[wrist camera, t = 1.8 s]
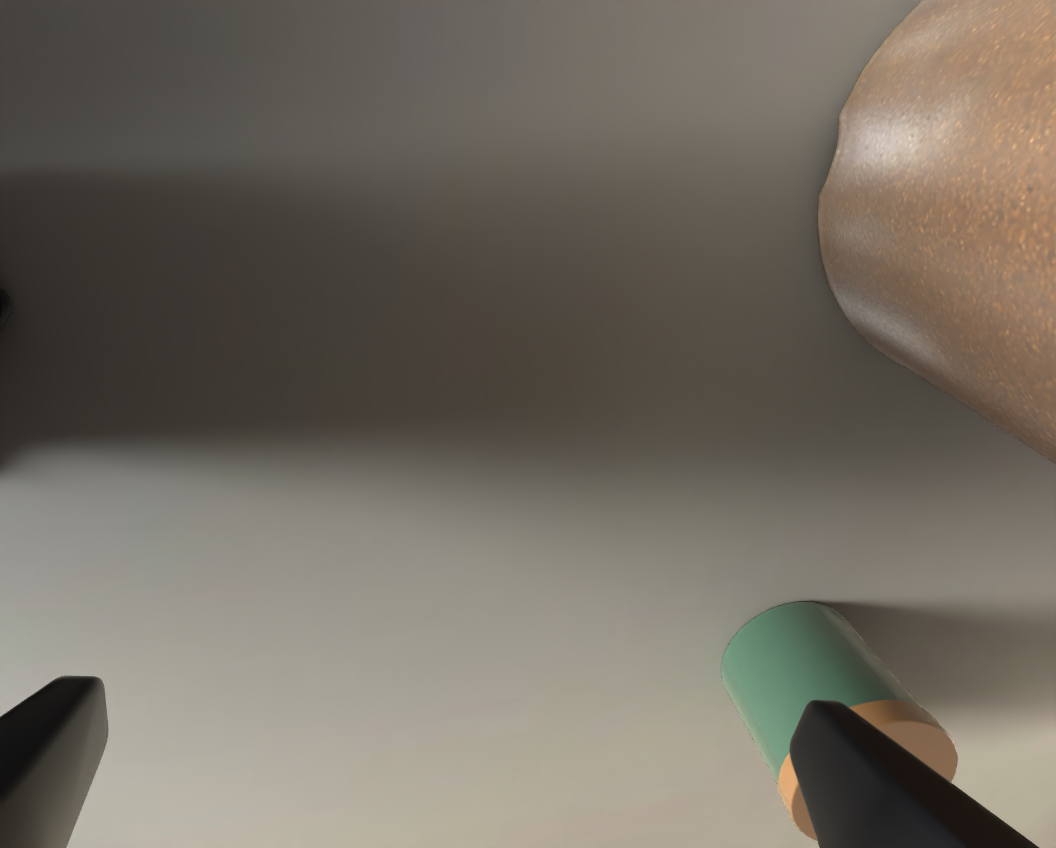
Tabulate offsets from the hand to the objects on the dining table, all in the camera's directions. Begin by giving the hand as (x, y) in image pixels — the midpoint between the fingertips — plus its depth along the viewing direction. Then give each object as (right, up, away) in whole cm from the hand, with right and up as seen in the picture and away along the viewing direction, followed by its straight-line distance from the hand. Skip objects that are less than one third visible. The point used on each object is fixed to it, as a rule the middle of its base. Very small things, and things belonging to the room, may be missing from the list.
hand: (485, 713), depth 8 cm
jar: (+11, -6, +18) cm, 22 cm away
